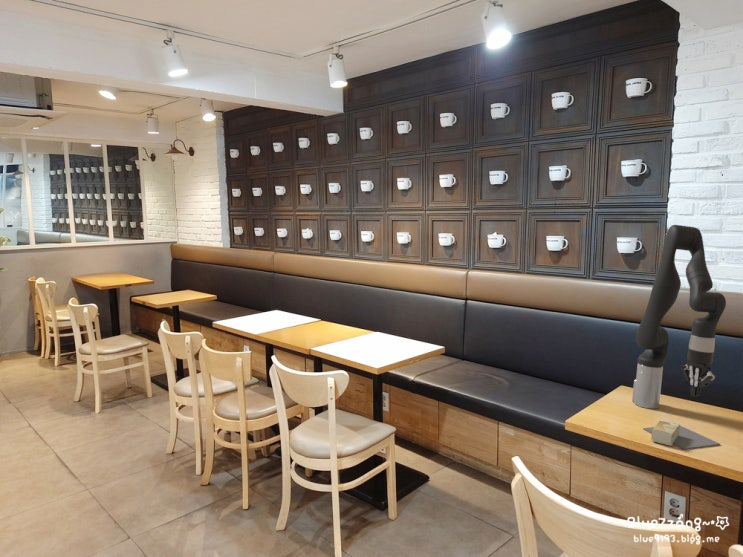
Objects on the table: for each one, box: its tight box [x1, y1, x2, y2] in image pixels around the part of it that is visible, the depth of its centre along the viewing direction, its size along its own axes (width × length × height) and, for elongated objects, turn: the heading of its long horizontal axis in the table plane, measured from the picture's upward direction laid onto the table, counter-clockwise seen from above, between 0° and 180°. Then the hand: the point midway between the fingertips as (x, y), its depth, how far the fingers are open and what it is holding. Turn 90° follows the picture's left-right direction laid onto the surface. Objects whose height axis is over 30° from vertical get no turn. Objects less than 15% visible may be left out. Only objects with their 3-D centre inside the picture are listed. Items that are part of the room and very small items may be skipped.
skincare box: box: [650, 419, 681, 447], centre depth 178 cm, size 6×4×12 cm
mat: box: [642, 425, 721, 451], centre depth 181 cm, size 17×16×1 cm
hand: (694, 395), depth 181 cm, fingers closed
